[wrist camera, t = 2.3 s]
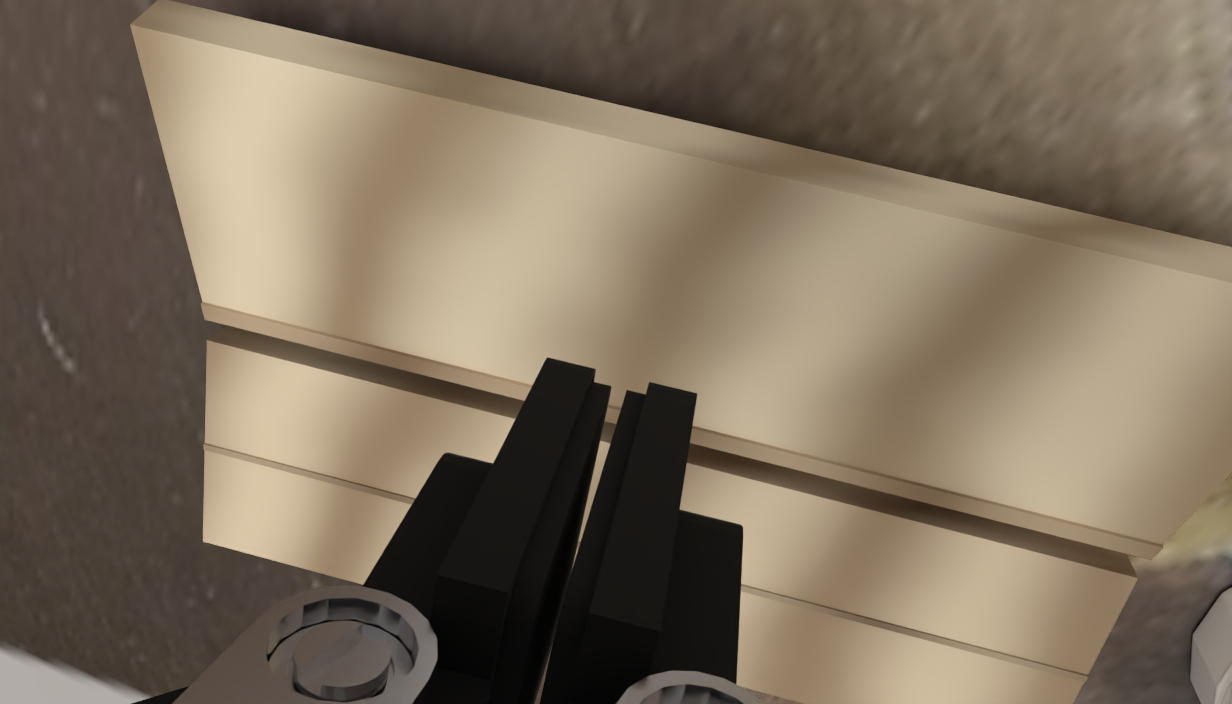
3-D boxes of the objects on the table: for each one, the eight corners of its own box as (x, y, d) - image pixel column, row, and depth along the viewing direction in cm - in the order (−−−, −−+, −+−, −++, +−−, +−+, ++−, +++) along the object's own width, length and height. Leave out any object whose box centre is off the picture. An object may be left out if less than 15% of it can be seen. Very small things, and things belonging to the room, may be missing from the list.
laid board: (1124, 551, 28) (1139, 579, 26) (1031, 736, 31) (1040, 769, 29) (228, 324, 29) (205, 341, 28) (222, 520, 32) (201, 542, 31)
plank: (1364, 277, 20) (1383, 321, 20) (1142, 521, 27) (1149, 562, 26) (160, -2, 22) (127, 26, 21) (227, 290, 29) (205, 321, 28)
